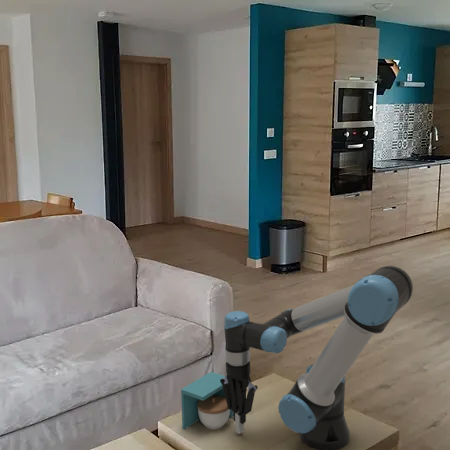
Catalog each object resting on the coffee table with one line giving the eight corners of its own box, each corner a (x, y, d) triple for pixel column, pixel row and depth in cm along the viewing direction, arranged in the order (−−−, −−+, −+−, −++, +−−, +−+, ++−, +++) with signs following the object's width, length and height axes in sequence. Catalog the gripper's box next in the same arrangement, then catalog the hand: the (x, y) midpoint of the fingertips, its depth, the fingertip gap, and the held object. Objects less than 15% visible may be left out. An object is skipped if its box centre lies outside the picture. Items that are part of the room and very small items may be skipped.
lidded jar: (227, 434, 188) (226, 407, 186) (194, 431, 190) (193, 404, 188) (233, 417, 198) (233, 391, 196) (202, 414, 200) (201, 389, 199)
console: (233, 416, 199) (232, 378, 196) (204, 437, 187) (203, 397, 184) (212, 408, 204) (211, 371, 202) (182, 428, 192) (181, 389, 189)
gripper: (262, 361, 183) (263, 432, 187) (228, 352, 190) (230, 420, 195) (248, 370, 177) (250, 443, 181) (213, 360, 184) (216, 430, 189)
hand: (240, 431), depth 188 cm, fingers closed
